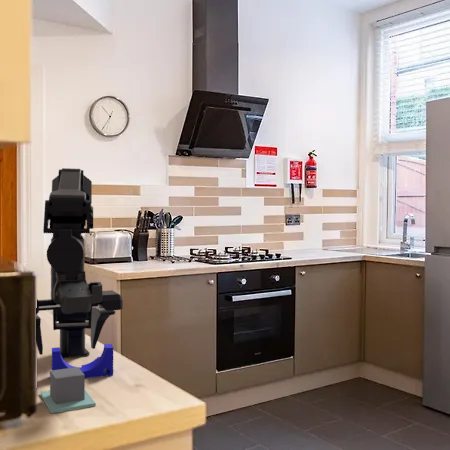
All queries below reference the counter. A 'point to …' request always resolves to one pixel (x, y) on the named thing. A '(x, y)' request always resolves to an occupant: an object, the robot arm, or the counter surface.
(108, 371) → the blue arched bracket
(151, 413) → the counter surface
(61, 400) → the gray cube block
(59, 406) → the teal board
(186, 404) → the counter surface
